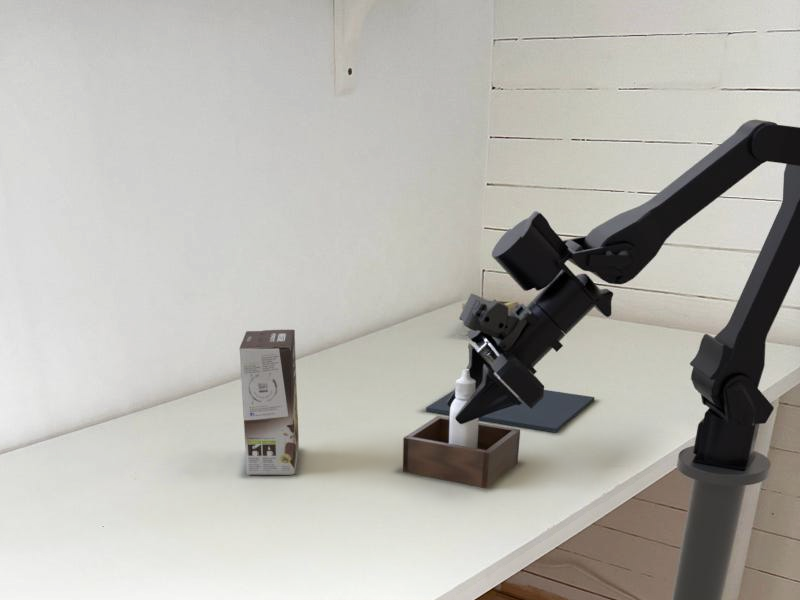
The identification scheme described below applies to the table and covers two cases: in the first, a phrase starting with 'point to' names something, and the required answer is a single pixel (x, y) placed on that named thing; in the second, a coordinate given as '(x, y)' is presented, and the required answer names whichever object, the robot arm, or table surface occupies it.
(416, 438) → the desk box
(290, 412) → the coffee box
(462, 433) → the eye dropper bottle
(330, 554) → the table surface
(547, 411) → the desk mat
